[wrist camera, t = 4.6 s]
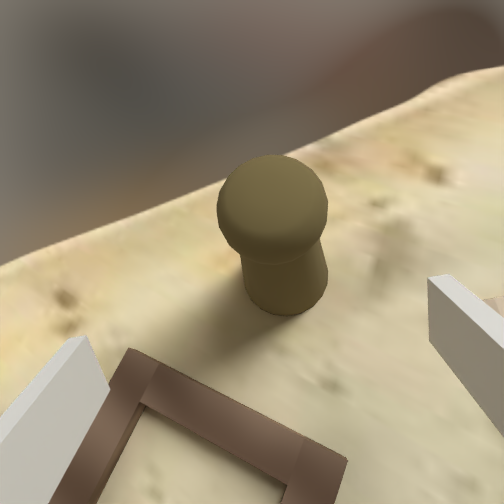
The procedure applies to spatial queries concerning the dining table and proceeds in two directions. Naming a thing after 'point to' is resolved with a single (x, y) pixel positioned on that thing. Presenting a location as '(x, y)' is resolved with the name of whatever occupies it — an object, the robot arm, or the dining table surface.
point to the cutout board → (202, 423)
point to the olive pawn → (277, 231)
